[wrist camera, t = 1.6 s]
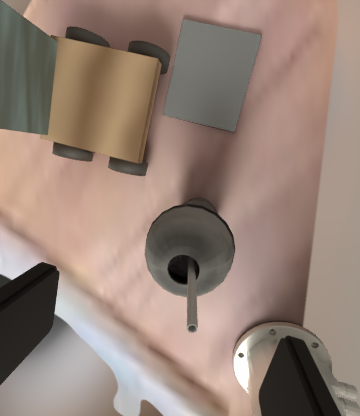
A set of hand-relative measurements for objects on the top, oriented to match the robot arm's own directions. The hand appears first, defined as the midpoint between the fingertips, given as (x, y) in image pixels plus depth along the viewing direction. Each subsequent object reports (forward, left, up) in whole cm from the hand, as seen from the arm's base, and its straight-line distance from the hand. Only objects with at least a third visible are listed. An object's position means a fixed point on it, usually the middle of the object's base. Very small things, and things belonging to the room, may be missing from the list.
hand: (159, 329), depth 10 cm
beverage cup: (0, 0, -22) cm, 22 cm away
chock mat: (+2, -15, -22) cm, 27 cm away
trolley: (+13, -10, -22) cm, 27 cm away
